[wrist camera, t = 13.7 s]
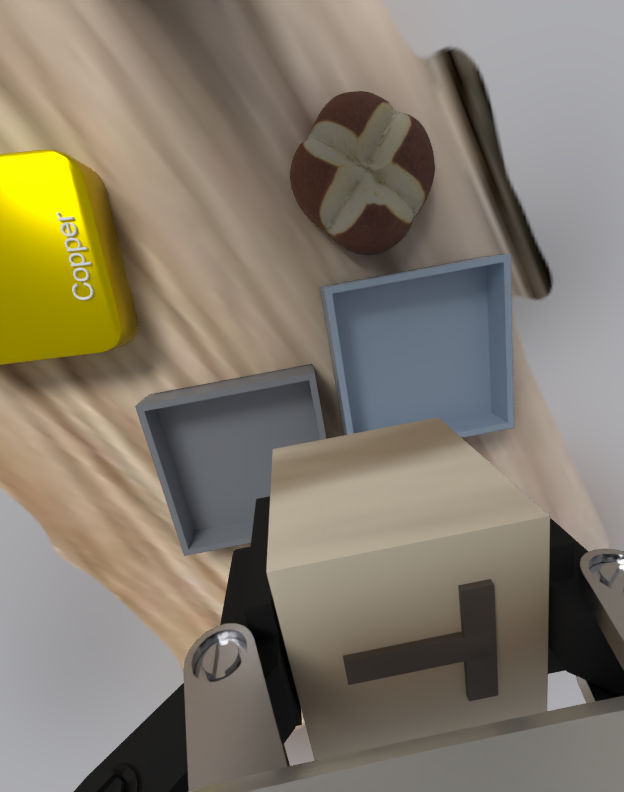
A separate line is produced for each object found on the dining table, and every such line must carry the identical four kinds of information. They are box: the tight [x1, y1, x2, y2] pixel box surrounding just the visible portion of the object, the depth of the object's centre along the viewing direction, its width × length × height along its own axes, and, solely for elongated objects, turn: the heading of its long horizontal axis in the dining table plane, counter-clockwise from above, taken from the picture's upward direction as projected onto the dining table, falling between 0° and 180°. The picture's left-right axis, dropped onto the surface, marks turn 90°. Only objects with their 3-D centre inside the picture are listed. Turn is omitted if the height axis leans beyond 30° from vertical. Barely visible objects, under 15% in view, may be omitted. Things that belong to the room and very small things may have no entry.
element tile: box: [0, 150, 137, 365], centre depth 32 cm, size 15×15×5 cm
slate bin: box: [320, 253, 514, 438], centre depth 36 cm, size 16×16×4 cm
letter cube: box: [266, 417, 550, 761], centre depth 10 cm, size 5×5×5 cm
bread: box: [290, 91, 435, 255], centre depth 31 cm, size 11×11×5 cm
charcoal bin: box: [135, 364, 326, 556], centre depth 38 cm, size 16×16×4 cm
